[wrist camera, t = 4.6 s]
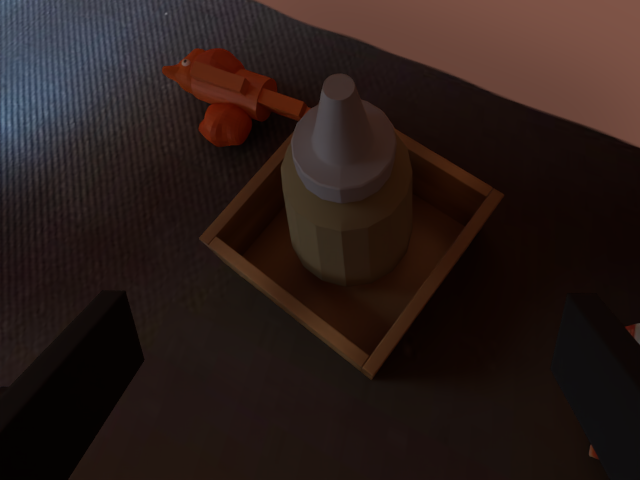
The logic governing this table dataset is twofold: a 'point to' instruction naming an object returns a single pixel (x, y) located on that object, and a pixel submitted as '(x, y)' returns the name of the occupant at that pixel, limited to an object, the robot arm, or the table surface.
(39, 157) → the table surface
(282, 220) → the open wooden box
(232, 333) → the table surface
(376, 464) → the table surface
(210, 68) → the orange toy bird
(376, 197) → the squeeze bottle
